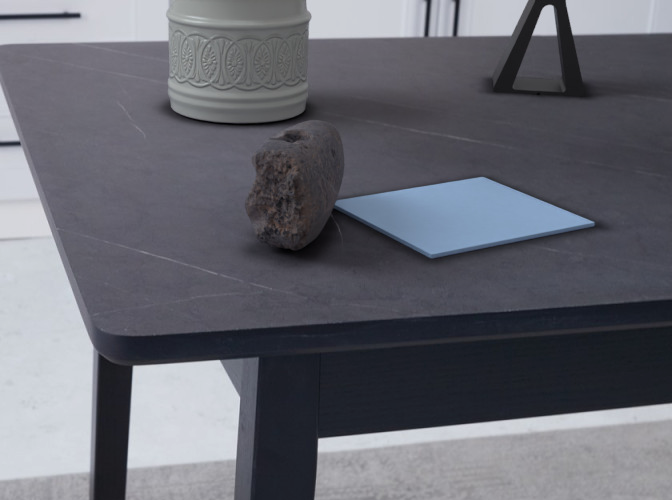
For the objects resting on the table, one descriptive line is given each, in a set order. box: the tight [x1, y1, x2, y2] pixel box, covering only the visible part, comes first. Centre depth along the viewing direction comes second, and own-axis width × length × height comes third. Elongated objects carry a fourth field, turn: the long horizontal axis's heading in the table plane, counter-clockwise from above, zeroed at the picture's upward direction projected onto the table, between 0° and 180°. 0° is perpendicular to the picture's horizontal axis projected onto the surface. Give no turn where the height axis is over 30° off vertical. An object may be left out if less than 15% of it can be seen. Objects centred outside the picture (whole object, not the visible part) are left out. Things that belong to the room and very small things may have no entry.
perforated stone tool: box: [244, 119, 345, 251], centre depth 76 cm, size 15×5×7 cm, turn 163°
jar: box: [165, 0, 312, 124], centre depth 103 cm, size 13×13×18 cm
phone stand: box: [491, 0, 586, 98], centre depth 115 cm, size 9×6×12 cm, turn 81°
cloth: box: [333, 176, 596, 260], centre depth 80 cm, size 14×12×1 cm
